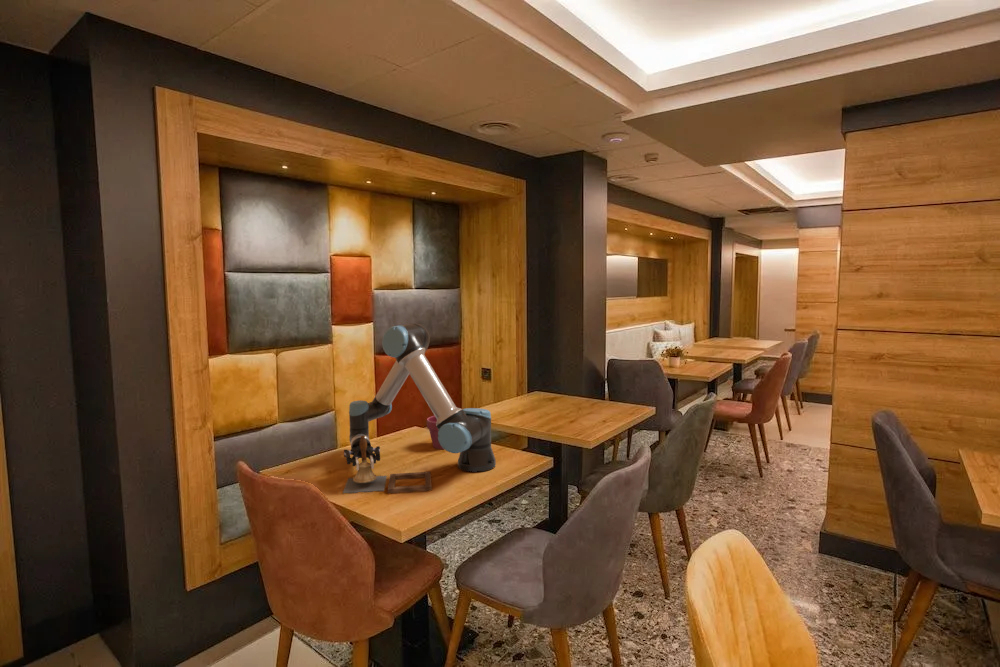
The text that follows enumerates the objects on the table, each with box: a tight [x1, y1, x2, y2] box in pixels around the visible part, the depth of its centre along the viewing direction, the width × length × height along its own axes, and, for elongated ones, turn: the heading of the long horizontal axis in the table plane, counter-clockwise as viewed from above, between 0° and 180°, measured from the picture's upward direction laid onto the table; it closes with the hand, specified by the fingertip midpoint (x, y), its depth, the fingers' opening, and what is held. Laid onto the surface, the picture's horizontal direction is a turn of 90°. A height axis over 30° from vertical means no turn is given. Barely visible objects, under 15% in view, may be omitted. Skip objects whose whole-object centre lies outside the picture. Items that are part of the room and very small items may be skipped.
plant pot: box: [426, 415, 444, 450], centre depth 230 cm, size 14×14×13 cm
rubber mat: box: [342, 475, 388, 494], centre depth 185 cm, size 14×14×1 cm
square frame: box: [387, 471, 432, 494], centre depth 186 cm, size 15×15×2 cm
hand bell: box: [352, 436, 377, 483], centre depth 184 cm, size 8×8×16 cm
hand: (365, 465), depth 180 cm, fingers closed on hand bell, 4 cm apart
